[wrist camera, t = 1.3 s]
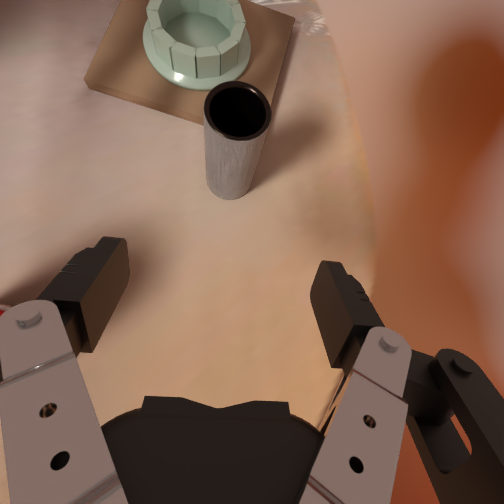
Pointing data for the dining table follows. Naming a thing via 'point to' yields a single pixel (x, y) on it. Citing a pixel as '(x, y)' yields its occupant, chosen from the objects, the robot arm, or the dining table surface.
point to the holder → (197, 41)
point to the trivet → (162, 91)
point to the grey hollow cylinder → (234, 136)
